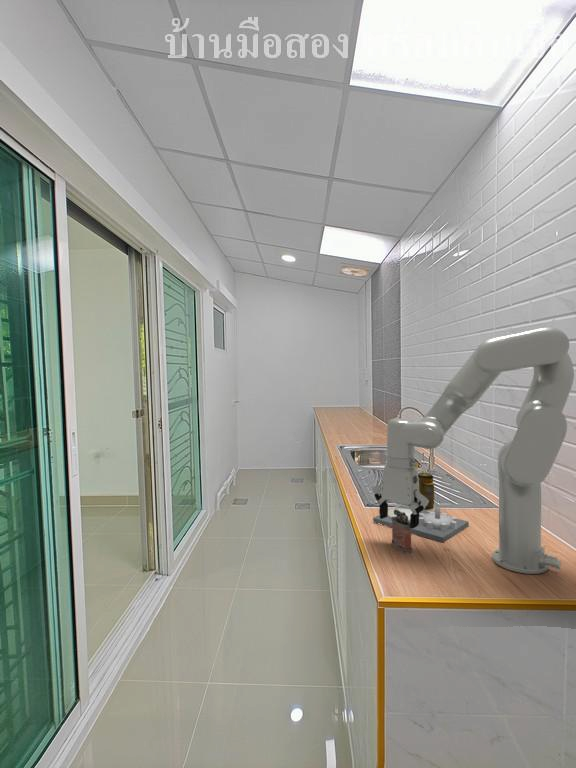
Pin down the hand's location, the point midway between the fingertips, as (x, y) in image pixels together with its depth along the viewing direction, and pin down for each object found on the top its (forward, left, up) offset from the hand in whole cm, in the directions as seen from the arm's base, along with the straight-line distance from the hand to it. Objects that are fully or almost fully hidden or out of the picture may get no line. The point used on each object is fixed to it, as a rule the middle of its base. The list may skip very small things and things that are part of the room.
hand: (398, 522), depth 119 cm
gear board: (+4, -20, -7) cm, 22 cm away
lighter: (-1, 0, -7) cm, 7 cm away
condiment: (+11, -37, -7) cm, 40 cm away
